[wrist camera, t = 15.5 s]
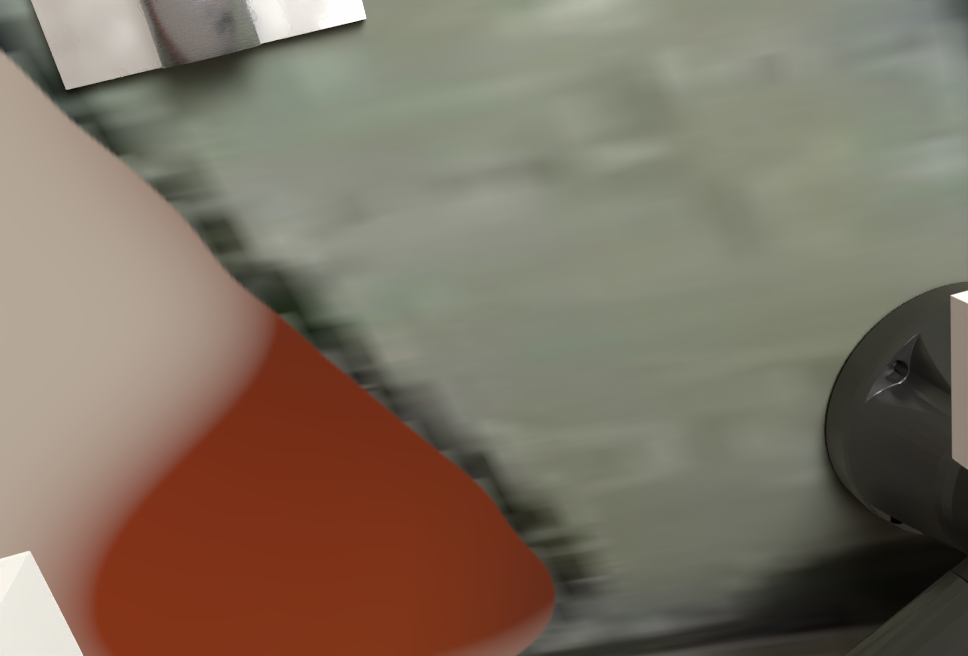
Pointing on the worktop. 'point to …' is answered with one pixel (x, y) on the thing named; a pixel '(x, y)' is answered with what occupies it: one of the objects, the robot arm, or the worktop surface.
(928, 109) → the worktop surface
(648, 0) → the worktop surface
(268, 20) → the hinge leaf
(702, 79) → the worktop surface
